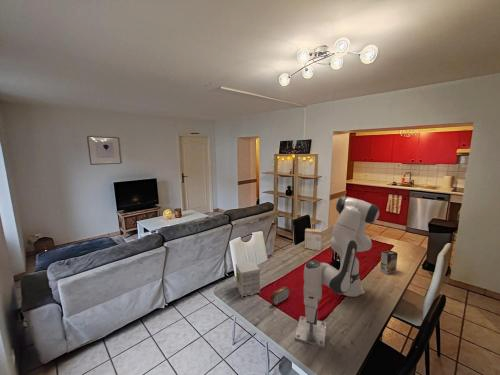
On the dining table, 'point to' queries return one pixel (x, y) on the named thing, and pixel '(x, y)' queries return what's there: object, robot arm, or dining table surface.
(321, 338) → the hub plate
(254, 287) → the supplement box
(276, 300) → the tin
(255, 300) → the dining table surface
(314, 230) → the coffeecake box
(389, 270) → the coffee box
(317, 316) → the labeled dark box
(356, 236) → the robot arm
